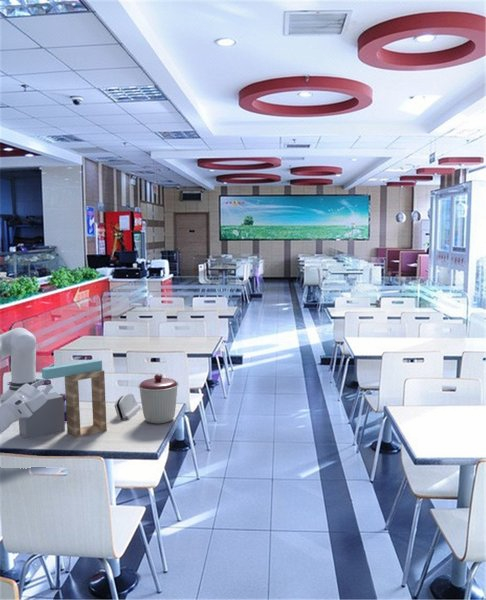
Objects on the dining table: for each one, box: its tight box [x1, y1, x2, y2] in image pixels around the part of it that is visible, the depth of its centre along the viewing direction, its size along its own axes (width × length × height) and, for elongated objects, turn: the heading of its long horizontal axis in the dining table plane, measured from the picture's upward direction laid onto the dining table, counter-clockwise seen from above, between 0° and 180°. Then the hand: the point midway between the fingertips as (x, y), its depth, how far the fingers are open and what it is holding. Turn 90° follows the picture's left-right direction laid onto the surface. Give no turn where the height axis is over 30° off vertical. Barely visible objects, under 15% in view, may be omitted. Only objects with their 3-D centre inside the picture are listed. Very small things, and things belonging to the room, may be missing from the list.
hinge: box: [114, 393, 142, 420], centre depth 256 cm, size 17×5×10 cm, turn 170°
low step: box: [18, 391, 66, 441], centre depth 232 cm, size 16×9×15 cm, turn 130°
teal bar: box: [41, 358, 103, 381], centre depth 227 cm, size 24×4×4 cm, turn 130°
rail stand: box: [64, 369, 108, 439], centre depth 232 cm, size 14×8×26 cm, turn 130°
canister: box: [137, 373, 180, 425], centre depth 246 cm, size 18×18×21 cm
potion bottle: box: [59, 393, 67, 422], centre depth 248 cm, size 9×9×12 cm
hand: (47, 383), depth 220 cm, fingers open, 8 cm apart
